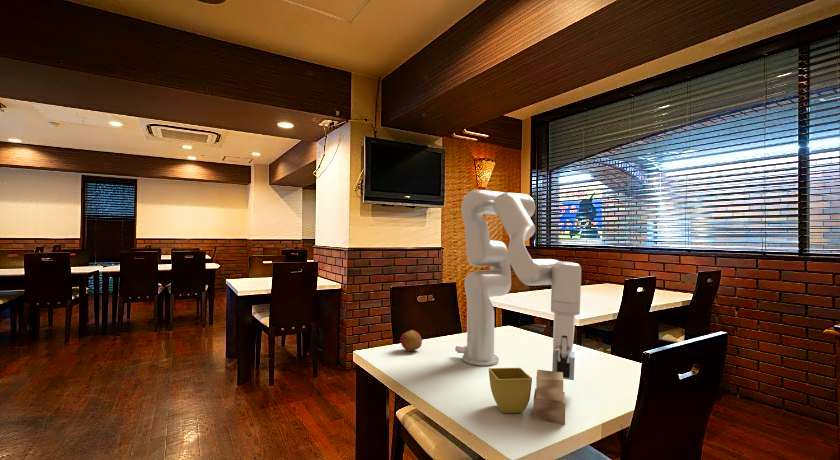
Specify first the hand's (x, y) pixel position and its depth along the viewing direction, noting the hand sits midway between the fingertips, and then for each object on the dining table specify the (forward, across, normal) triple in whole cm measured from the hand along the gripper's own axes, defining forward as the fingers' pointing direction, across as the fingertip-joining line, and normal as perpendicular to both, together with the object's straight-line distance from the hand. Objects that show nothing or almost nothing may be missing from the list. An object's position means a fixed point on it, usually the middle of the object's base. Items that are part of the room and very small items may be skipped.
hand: (562, 372), depth 107 cm
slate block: (+1, 0, 0) cm, 1 cm away
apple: (+9, -24, -54) cm, 60 cm away
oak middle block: (+1, +15, -3) cm, 15 cm away
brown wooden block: (+6, +15, -3) cm, 16 cm away
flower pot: (+6, +15, -12) cm, 20 cm away
